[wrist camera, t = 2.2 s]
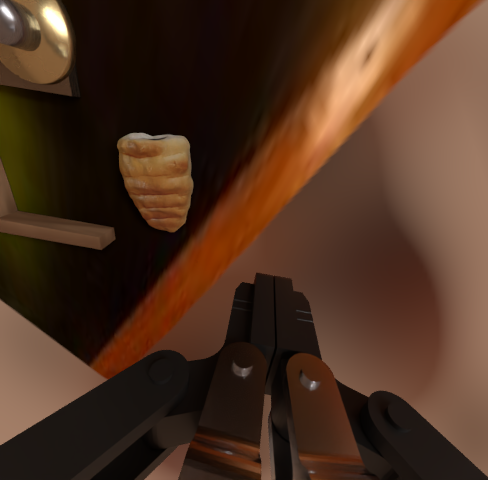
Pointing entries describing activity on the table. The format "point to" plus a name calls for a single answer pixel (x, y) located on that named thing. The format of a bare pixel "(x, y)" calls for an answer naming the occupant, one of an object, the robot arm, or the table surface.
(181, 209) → the pastry
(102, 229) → the rail
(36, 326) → the table surface
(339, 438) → the robot arm
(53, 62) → the balance
